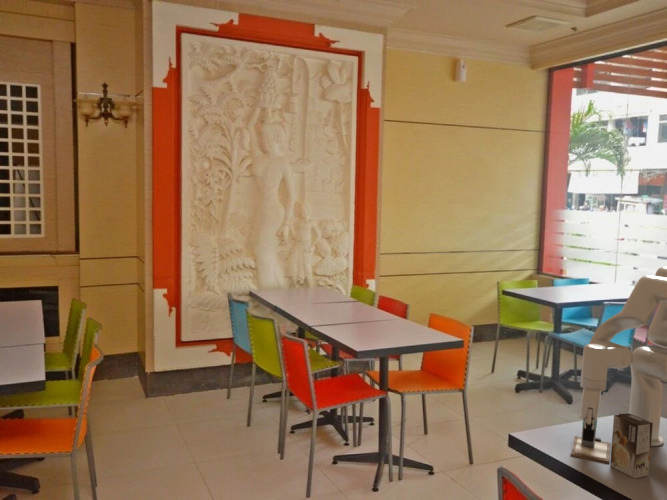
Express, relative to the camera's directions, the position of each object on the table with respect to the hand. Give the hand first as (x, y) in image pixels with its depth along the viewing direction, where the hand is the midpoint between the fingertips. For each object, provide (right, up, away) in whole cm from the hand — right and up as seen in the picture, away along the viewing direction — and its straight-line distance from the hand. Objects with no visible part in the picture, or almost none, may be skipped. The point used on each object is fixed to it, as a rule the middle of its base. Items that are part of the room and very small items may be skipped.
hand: (588, 437), depth 198 cm
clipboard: (0, -4, -1) cm, 4 cm away
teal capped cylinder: (0, -2, 0) cm, 2 cm away
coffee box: (+6, -6, -15) cm, 17 cm away
